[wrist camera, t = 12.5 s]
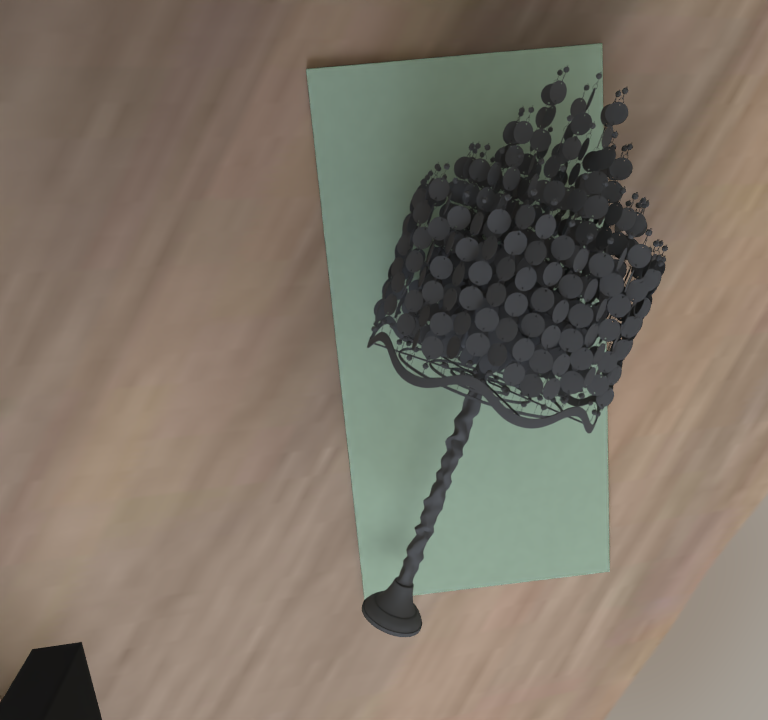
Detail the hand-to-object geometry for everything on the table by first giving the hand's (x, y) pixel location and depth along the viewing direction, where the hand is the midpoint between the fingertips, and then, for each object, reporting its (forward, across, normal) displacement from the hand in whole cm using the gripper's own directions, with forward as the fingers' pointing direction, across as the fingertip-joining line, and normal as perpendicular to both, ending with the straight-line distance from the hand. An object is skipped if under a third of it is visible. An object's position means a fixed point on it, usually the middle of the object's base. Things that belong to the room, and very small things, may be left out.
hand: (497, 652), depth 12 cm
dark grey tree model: (+21, +3, 0) cm, 21 cm away
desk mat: (+21, +4, -1) cm, 22 cm away
